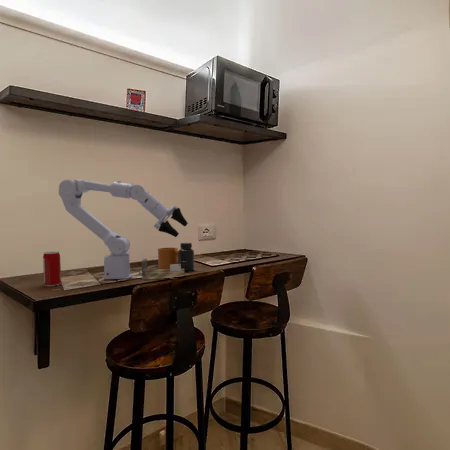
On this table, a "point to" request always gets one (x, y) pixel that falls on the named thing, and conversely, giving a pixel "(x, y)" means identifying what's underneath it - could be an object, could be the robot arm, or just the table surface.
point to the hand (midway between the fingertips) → (182, 230)
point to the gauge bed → (158, 272)
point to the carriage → (175, 267)
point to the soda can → (51, 268)
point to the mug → (167, 257)
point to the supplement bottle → (186, 257)
